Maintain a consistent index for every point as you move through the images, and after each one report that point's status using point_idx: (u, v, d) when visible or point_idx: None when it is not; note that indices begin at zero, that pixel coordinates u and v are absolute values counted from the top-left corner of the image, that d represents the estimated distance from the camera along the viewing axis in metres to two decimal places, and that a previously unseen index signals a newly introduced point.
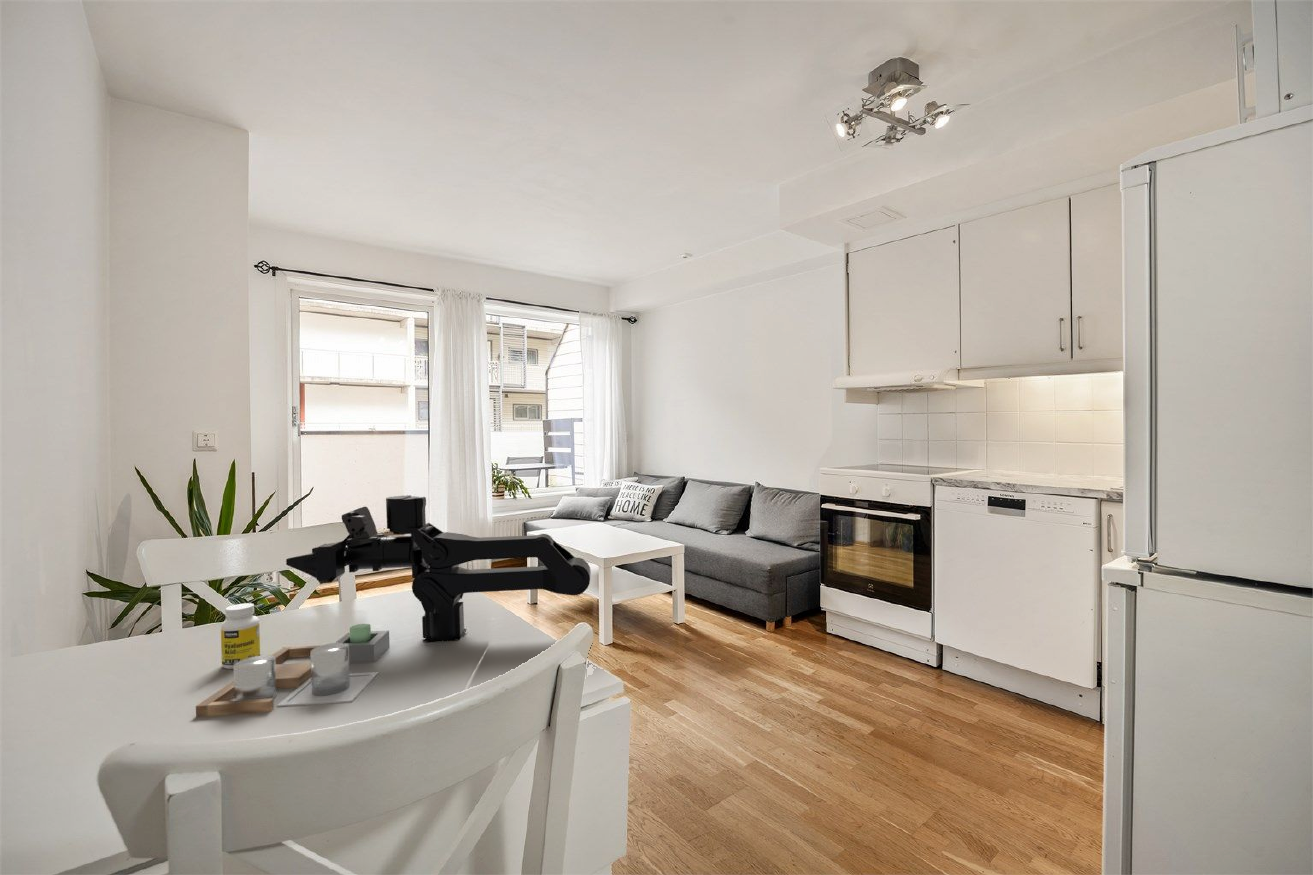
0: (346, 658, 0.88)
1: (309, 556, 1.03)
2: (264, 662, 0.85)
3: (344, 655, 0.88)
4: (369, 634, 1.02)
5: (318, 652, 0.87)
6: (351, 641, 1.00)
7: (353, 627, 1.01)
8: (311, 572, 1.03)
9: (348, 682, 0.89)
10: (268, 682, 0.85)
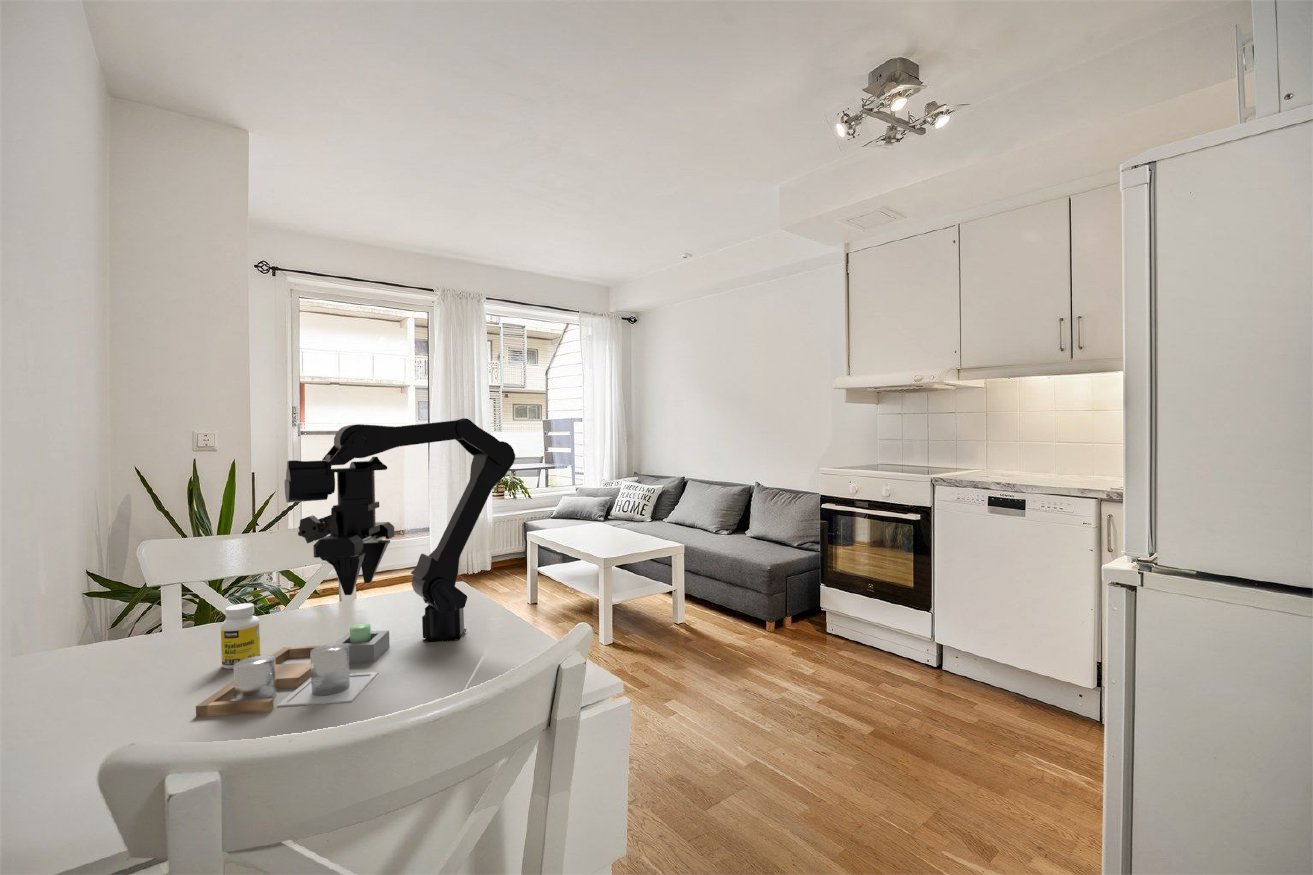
0: (346, 658, 0.88)
1: (336, 569, 0.96)
2: (264, 662, 0.85)
3: (344, 655, 0.88)
4: (369, 634, 1.02)
5: (318, 652, 0.87)
6: (351, 641, 1.00)
7: (353, 627, 1.01)
8: (354, 567, 0.96)
9: (348, 682, 0.89)
10: (268, 682, 0.85)
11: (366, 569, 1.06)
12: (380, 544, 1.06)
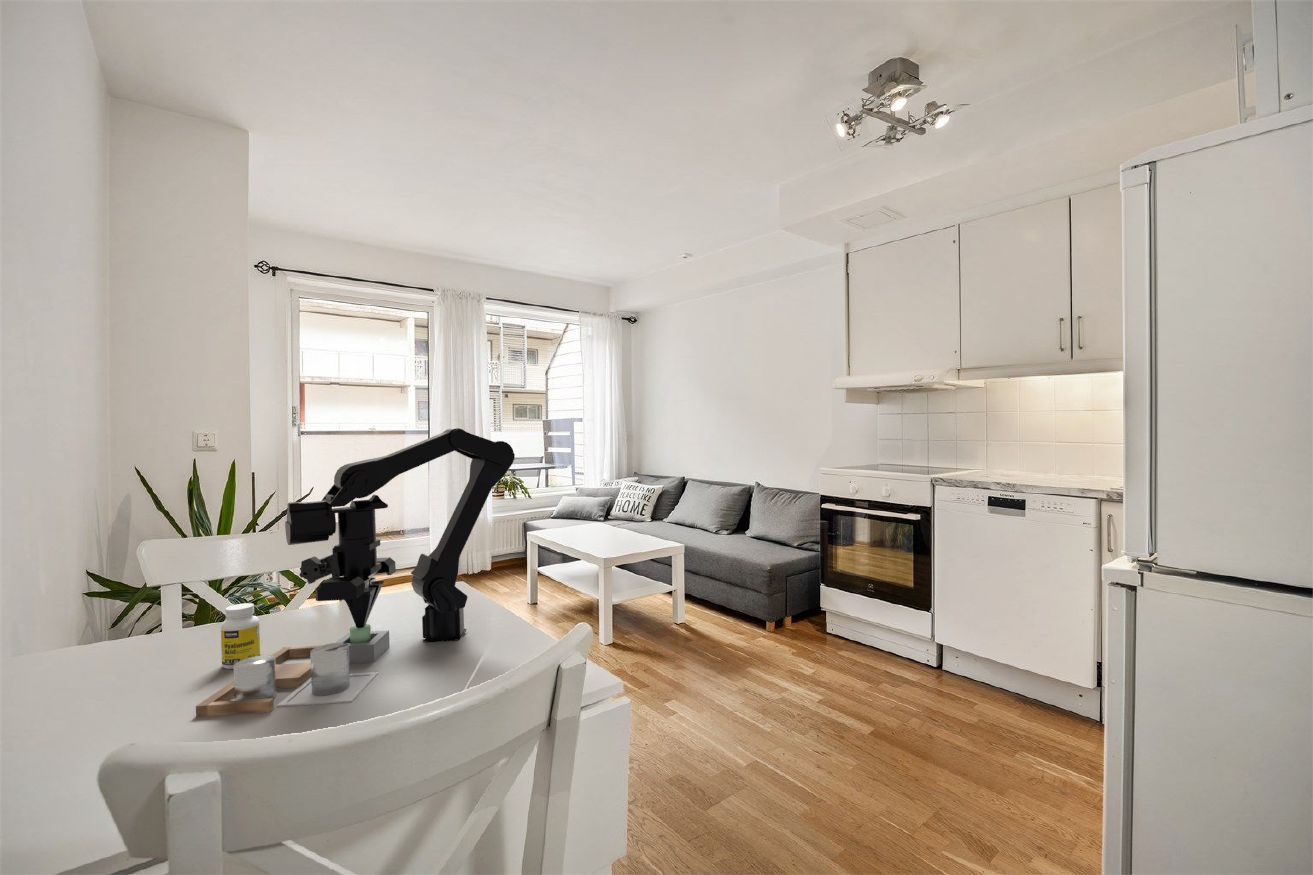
0: (346, 658, 0.88)
1: (348, 604, 1.00)
2: (264, 662, 0.85)
3: (344, 655, 0.88)
4: (369, 635, 1.02)
5: (318, 652, 0.87)
6: (351, 642, 1.00)
7: (353, 628, 1.01)
8: (365, 601, 1.00)
9: (348, 682, 0.89)
10: (268, 682, 0.85)
11: None
12: (373, 587, 1.03)
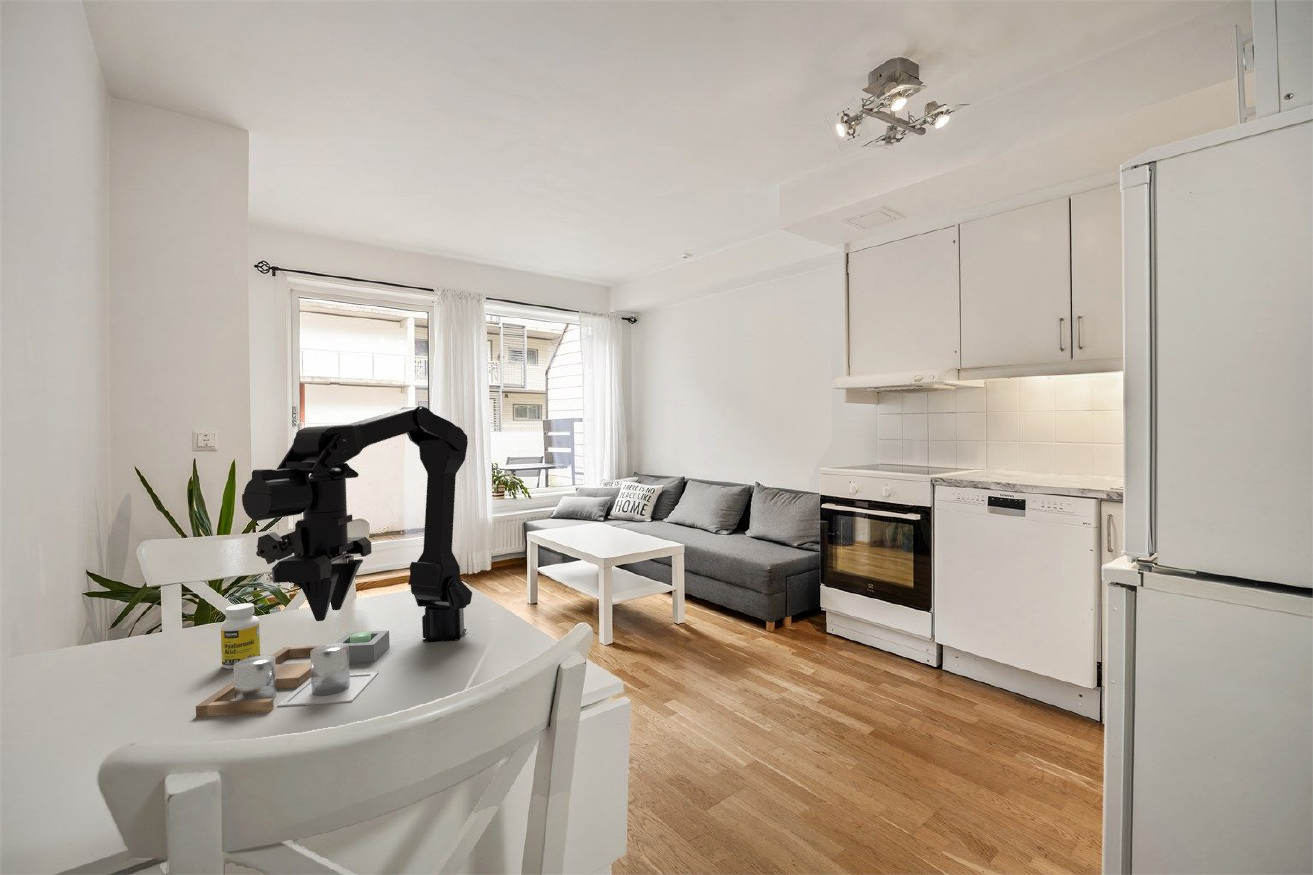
0: (346, 658, 0.88)
1: (306, 592, 0.84)
2: (264, 662, 0.85)
3: (344, 655, 0.88)
4: None
5: (318, 652, 0.87)
6: None
7: (353, 636, 1.01)
8: (326, 589, 0.84)
9: (348, 682, 0.89)
10: (268, 682, 0.85)
11: (335, 594, 0.91)
12: (350, 565, 0.92)
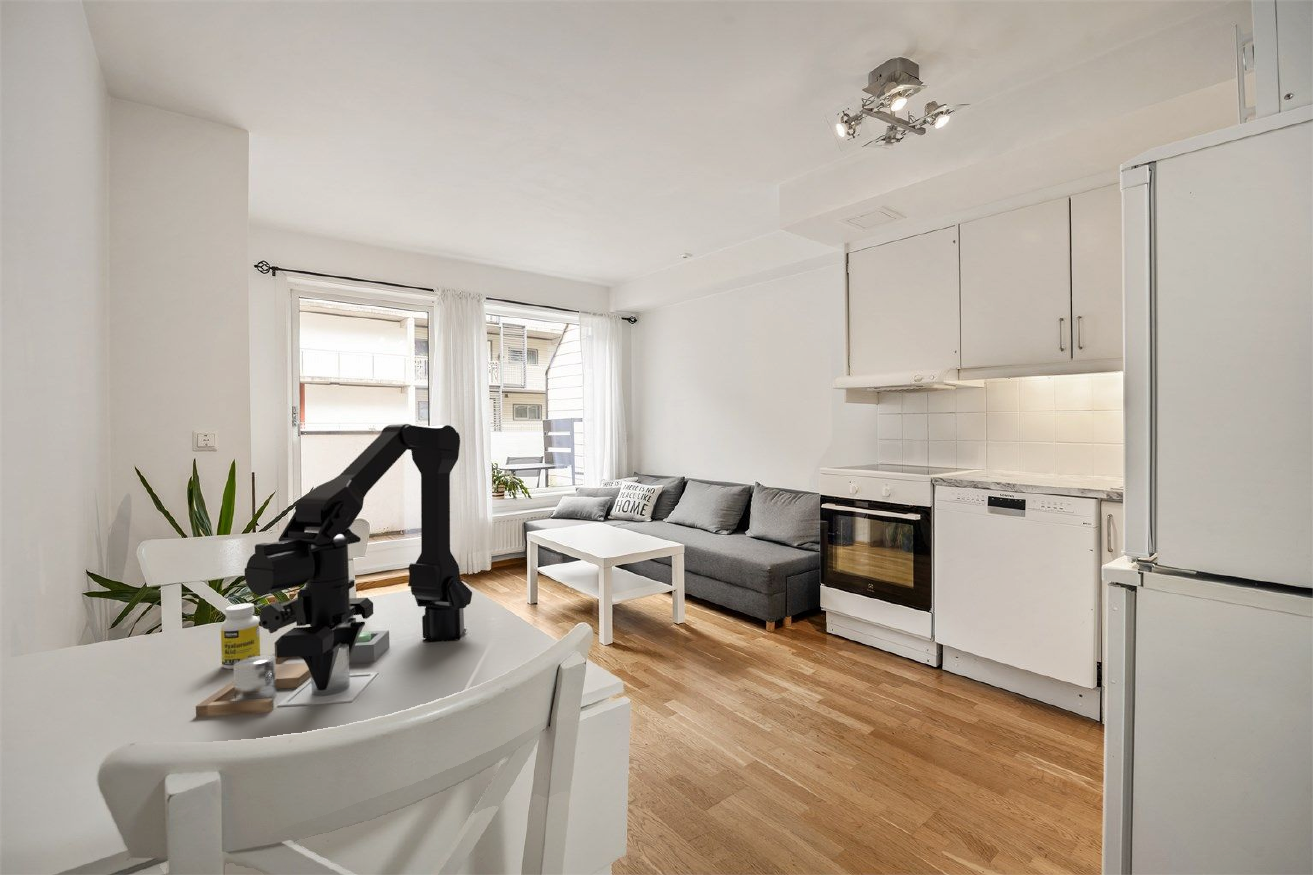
0: (346, 658, 0.88)
1: (308, 662, 0.84)
2: (264, 662, 0.85)
3: (344, 655, 0.88)
4: None
5: None
6: None
7: None
8: (328, 660, 0.84)
9: (348, 682, 0.89)
10: (268, 682, 0.85)
11: None
12: (353, 629, 0.92)
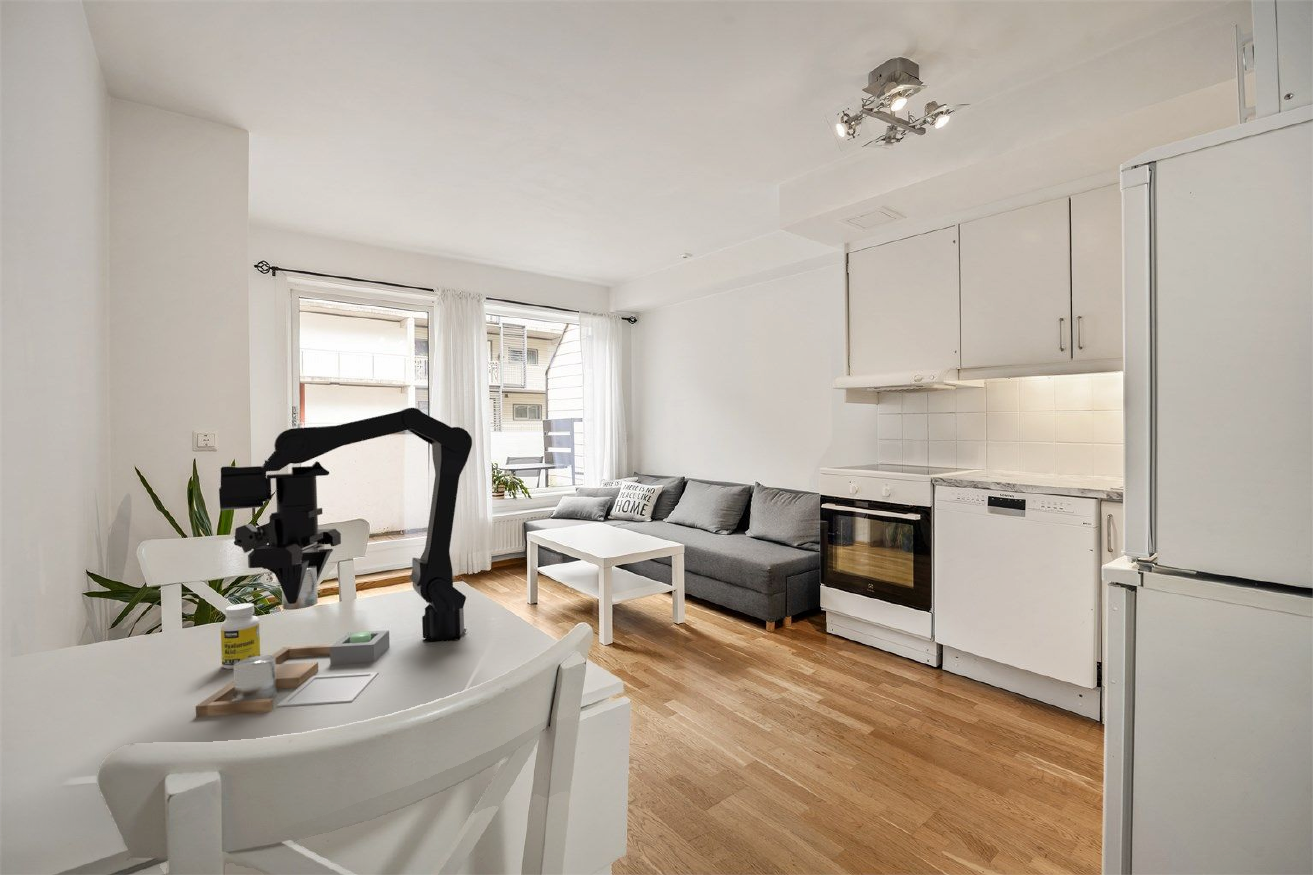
0: (314, 577, 0.98)
1: (279, 577, 0.93)
2: (264, 662, 0.85)
3: (312, 574, 0.97)
4: None
5: None
6: None
7: (353, 636, 1.01)
8: (297, 575, 0.94)
9: (316, 599, 0.98)
10: (268, 682, 0.85)
11: None
12: (321, 553, 1.01)
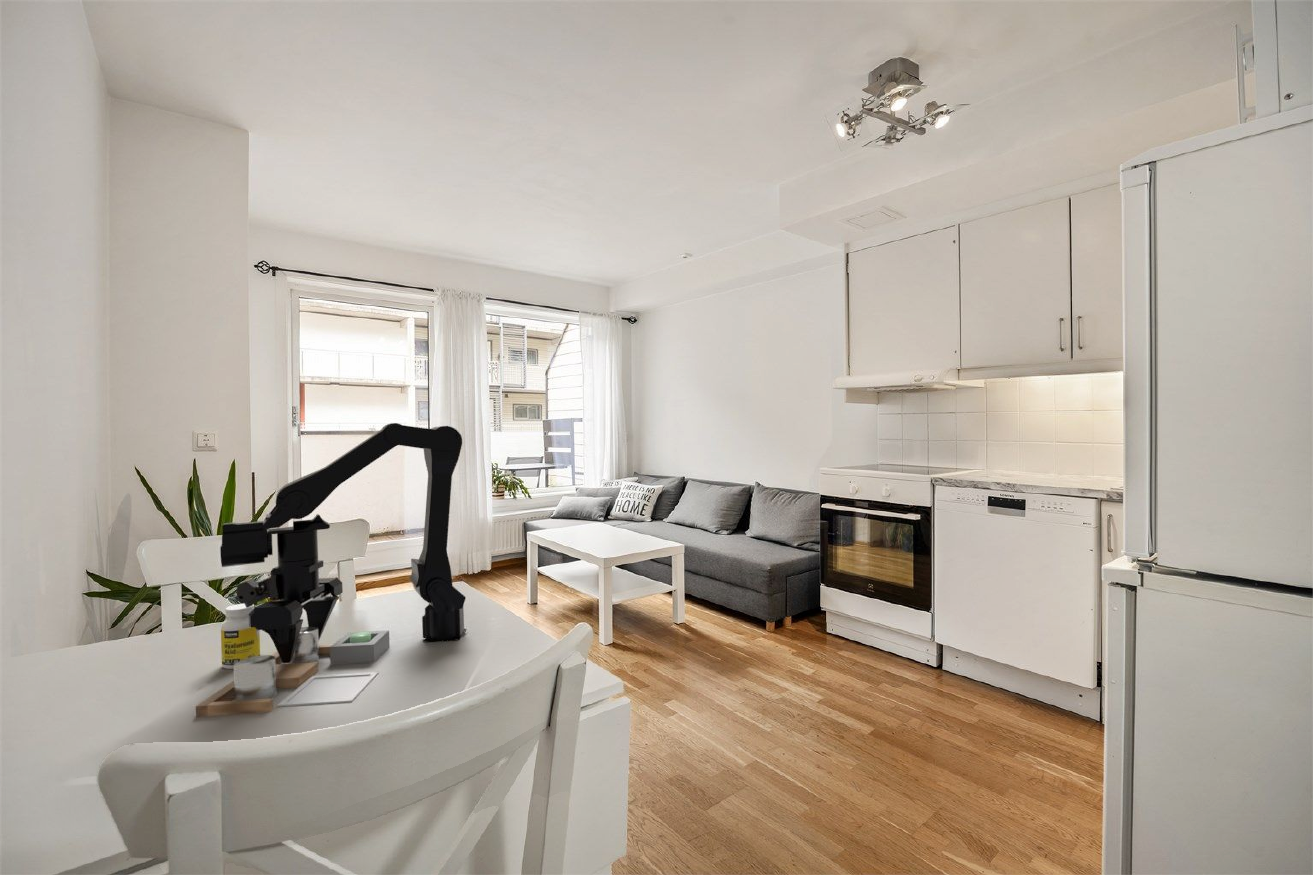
0: (315, 640, 0.99)
1: (273, 637, 0.92)
2: (264, 662, 0.85)
3: (313, 637, 0.98)
4: None
5: None
6: None
7: (353, 636, 1.01)
8: (291, 635, 0.92)
9: (317, 661, 0.99)
10: (268, 682, 0.85)
11: None
12: (327, 602, 1.04)
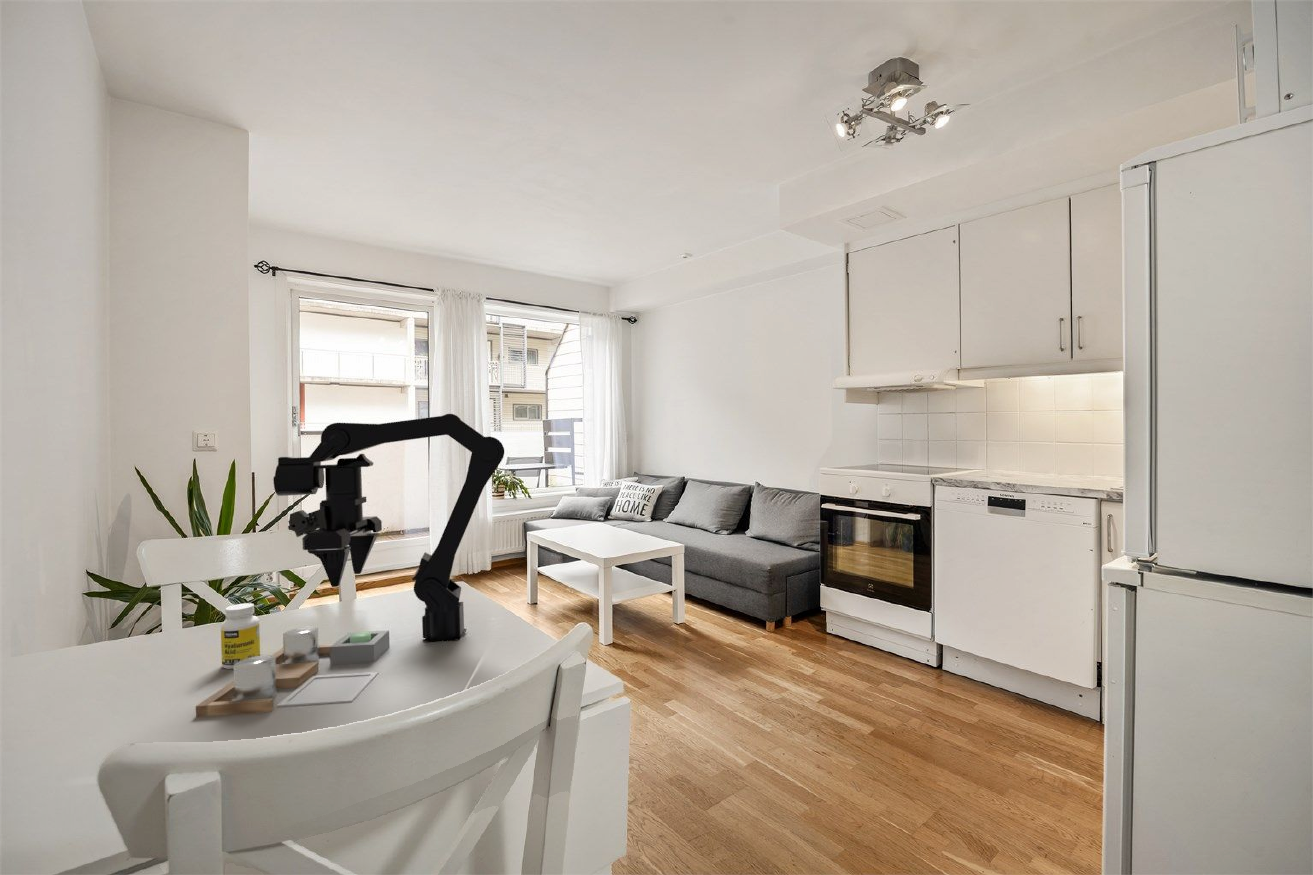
0: (315, 640, 0.99)
1: (323, 562, 1.00)
2: (264, 662, 0.85)
3: (313, 637, 0.98)
4: None
5: (290, 634, 0.97)
6: None
7: (353, 636, 1.01)
8: (340, 560, 1.00)
9: (317, 661, 0.99)
10: (268, 682, 0.85)
11: (356, 561, 1.11)
12: (369, 537, 1.11)
